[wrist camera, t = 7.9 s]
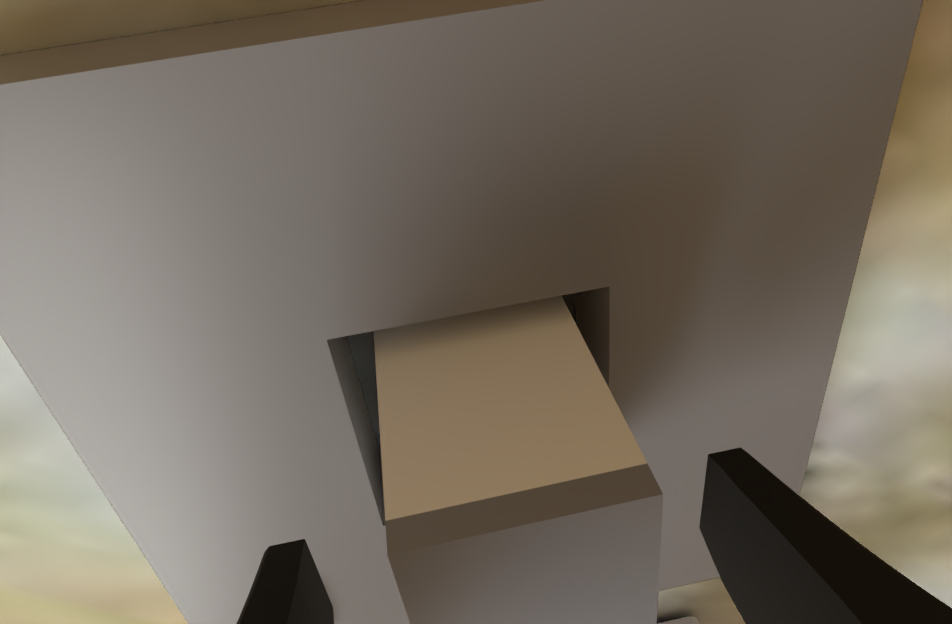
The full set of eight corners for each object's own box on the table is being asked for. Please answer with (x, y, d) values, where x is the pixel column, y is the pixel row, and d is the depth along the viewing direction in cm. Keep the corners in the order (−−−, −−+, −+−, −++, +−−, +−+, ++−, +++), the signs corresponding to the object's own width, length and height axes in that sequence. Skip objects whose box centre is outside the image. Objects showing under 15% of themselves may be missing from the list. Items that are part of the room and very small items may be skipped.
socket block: (740, 496, 21) (792, 578, 19) (241, 604, 20) (227, 706, 18) (838, -72, 12) (963, -58, 10) (-57, 64, 11) (-171, 119, 9)
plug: (553, 389, 17) (655, 642, 12) (404, 420, 17) (433, 695, 11) (542, 259, 15) (662, 494, 9) (370, 293, 15) (386, 556, 9)
